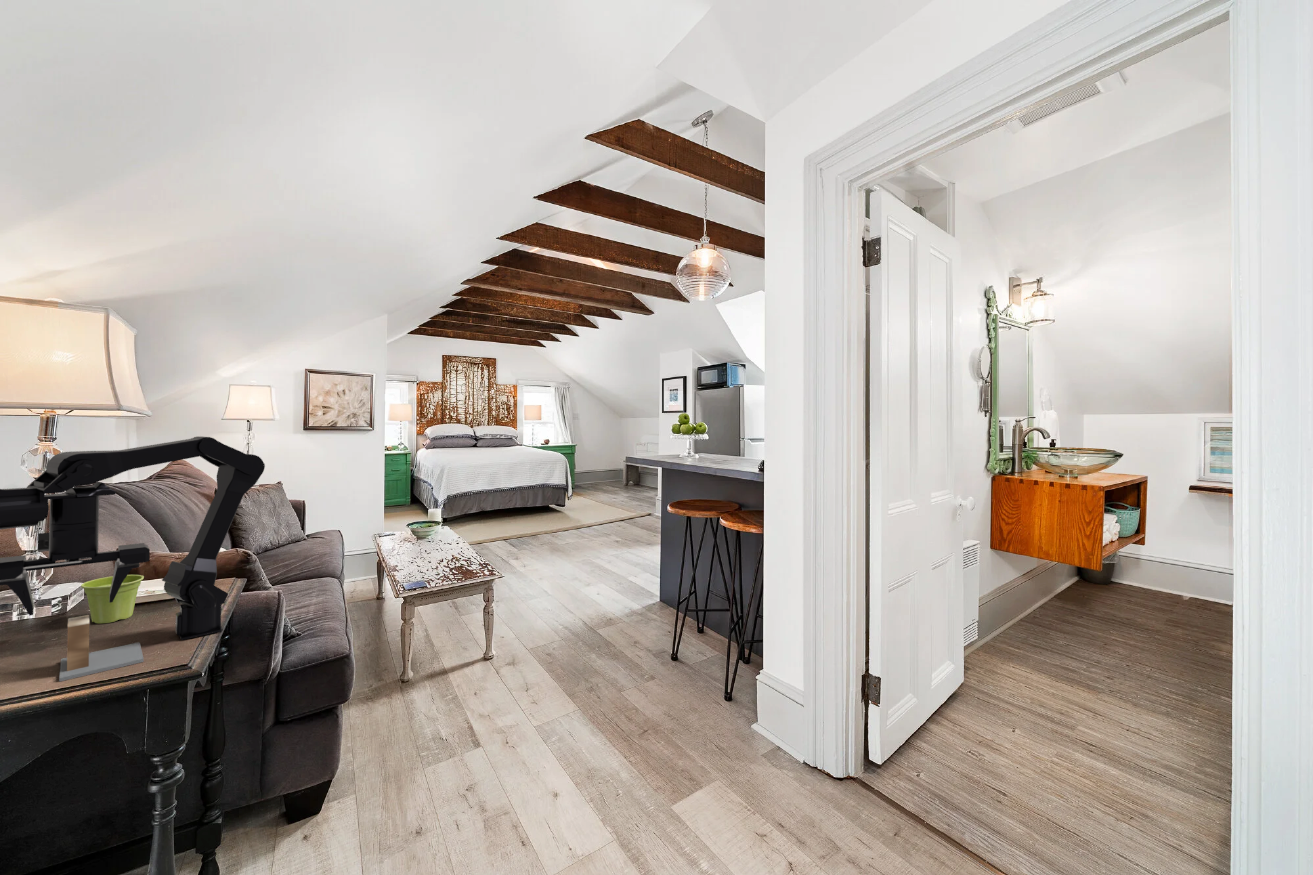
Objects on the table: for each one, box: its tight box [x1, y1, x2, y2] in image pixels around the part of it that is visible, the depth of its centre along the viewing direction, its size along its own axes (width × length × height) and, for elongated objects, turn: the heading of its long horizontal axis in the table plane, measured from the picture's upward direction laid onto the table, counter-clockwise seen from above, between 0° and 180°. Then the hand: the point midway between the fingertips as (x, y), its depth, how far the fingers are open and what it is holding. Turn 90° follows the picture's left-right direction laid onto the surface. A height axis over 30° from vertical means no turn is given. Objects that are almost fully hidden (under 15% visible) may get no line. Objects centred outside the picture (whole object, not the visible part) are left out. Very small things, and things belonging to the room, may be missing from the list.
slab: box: [66, 614, 90, 671], centre depth 89 cm, size 2×5×8 cm, turn 50°
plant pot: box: [80, 574, 145, 624], centre depth 110 cm, size 9×9×9 cm
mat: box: [58, 642, 144, 682], centre depth 91 cm, size 10×10×1 cm
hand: (72, 608), depth 88 cm, fingers open, 9 cm apart
